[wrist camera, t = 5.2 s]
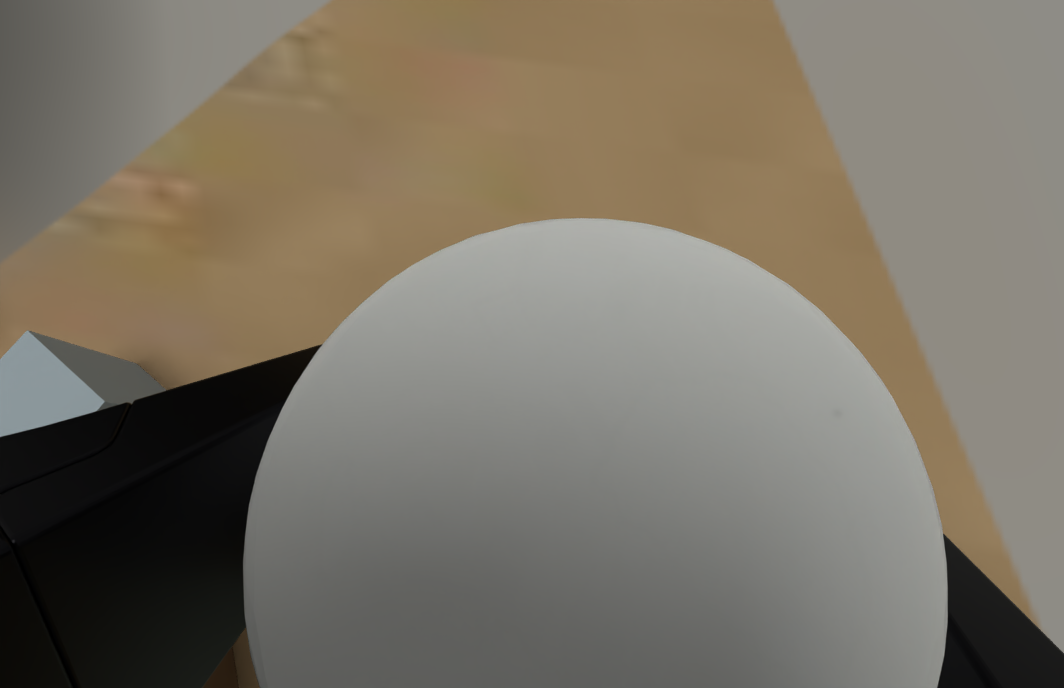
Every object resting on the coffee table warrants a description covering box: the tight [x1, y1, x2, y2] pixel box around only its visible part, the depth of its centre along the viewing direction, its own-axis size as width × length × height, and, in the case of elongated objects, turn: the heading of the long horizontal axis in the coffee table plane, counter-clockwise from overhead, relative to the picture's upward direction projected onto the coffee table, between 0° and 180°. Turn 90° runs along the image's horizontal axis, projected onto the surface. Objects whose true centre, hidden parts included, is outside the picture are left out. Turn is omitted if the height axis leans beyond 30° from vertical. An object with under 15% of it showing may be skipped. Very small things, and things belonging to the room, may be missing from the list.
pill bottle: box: [243, 218, 948, 688], centre depth 9 cm, size 6×6×11 cm
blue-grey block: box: [0, 330, 166, 437], centre depth 17 cm, size 6×3×4 cm, turn 143°
